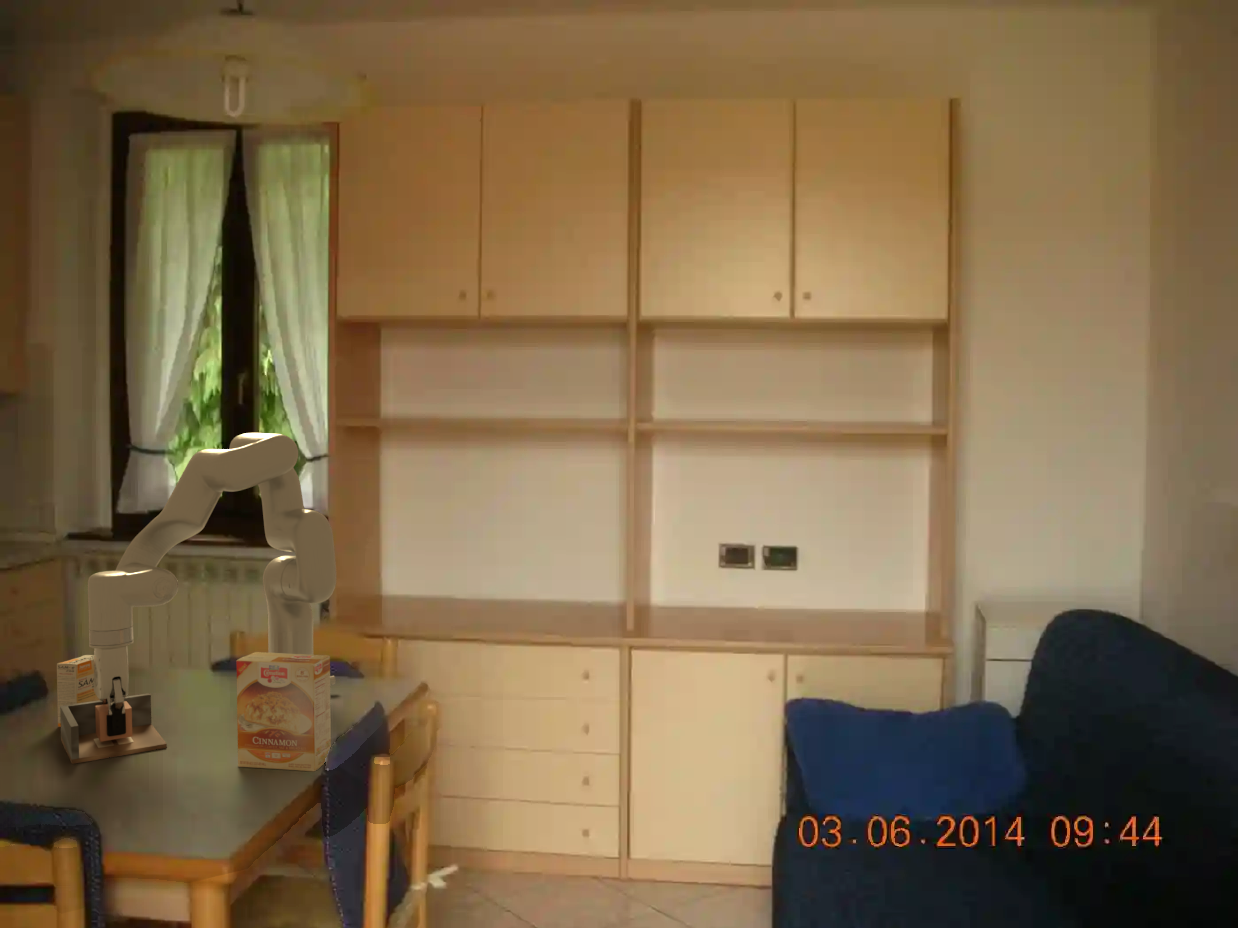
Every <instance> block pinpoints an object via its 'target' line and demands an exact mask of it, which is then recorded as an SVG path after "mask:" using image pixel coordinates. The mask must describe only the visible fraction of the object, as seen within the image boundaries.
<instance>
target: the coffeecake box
mask: <svg viewBox="0 0 1238 928" xmlns="http://www.w3.org/2000/svg"><path fill="white" fill-rule="evenodd" d="M235 662H236V708H237V709H236V717H237V718H236V719H237V724H236V725H237V730H236V731H237V767H239V768H253V769H254V768H255V769H256V768H257V769H270V770H271V769H272V770H286V771H301V772H305V771H306V772H316V771H317V770H319V769H320V768H321V767H322V766H324V765H325V764H324V762H325V758H326V757H327V754H328V751H329V749H330V747H331V748H332V735H331V734H332V729H331V728H332V726H331V725H332V723H331V721H332V720H331V716H332V715H331V685H330V676H331V656H330V655H329V654H328V655H325V654H324V655H323V654H321V655H320V654H313V655H307V654H287V653H269V652H268V651H267V652H265V651H264V652H263V651H262V652H261V651H254V652H252V653H250V654H247V655H244V656H241V657H240V658H237V660H236V661H235Z"/></svg>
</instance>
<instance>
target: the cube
mask: <svg viewBox="0 0 1238 928" xmlns="http://www.w3.org/2000/svg"><path fill="white" fill-rule="evenodd" d="M113 703H114V702H113ZM113 703H111V705H112V704H113ZM124 705H125V713H126V733H125V734H122V735H116V736H110V737H109V736H108V735H107V716H106V715H108V704H104V705H97V706H95V716H96V735H97V737H98V738H99V740H100V742H102V741H108V740H114V739H120V738H126V737H132V708H131V706H130V705H129V704H128V702H127V701H125V702H124Z"/></svg>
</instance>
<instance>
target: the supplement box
mask: <svg viewBox="0 0 1238 928" xmlns="http://www.w3.org/2000/svg"><path fill="white" fill-rule="evenodd" d="M56 683H57V684H56V688H57V689H56V691H57V727H59V728H61V720H60V706H63V705H70V704H77V703H84V702H91V701H98V700H100V699H99V698H98V697H97V696H96V694H95V692H94V654H84V655H81V656H78V657H74V658H71V659H68V660H65V661H61V662H58V663H56Z"/></svg>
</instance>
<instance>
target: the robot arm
mask: <svg viewBox="0 0 1238 928" xmlns="http://www.w3.org/2000/svg"><path fill="white" fill-rule="evenodd" d="M298 458H299V448H298V446H297V444H296V442H295V441H294V440H293V439H292V438H291V437H289V436H287V435H285V434H281V433H268V432H266V433H264V432H246V433H242V434H239V435H236V436H235V437H233V439H232V440H231V441H230V444H229V449H228V448H227V449H224V448H223V449H222V448H218V449H217V448H205V449H201V450H198V451H197V452H195V453H194V454H193V455H192V456H191V457H190V460H189V461H188V462H187V464H186V466H185V469H184V470H183V472H182V474H181V476H180V477H179V479H178V482H177V483H176V485H175V487H174V489H173V491H172V492H171V494H170V496H169V498H168V499H167V502H166V503H165V505H164V506H163V509H162V510H161V512H160V513H159V514H158V515H157V516H156V517H154V518H153V519H152V520H150V522H149V523H148V524H147V525H146V526H145V527H143V529H142V530H141V531H139V532H138V534H136V536H135V537H134V538H133V539H132V540H131V541H130V543H129V545H127V548H126V549H125V551H124V553H123V554H122V556H121V558H120V560H119V561H118V564H117V566H116V568H115V570H106V571H99V572H96V573H93V574H92V575H89V577H88V580H87V600H88V601H87V602H88V603H87V604H88V608H87V609H88V632H89V633H88V638H89V639H88V640H89V644H88V645H89V646H88V647H89V648H91V649H93V650H94V651H93V655H94V692H95V694H96V696H97V697H98V698H99V699H100V700H101V701H102V705H104V704H108V715H106V716H107V735H108V736H109V737H110V736H116V735H122V734H125V733H126V713H125V705H124V698H126V697H127V696H129V691H130V690H129V687H130V686H129V685H130V684H129V679H130V678H129V655H128V646H129V645H132V644H134V618H133V617H134V616H133V614H134V613H133V612H134V611H133V610H134V609H133V608H135V607H158V606H163V605H166V604H168V603H169V602H171V601H172V600H173V599H174V597H176V595H177V593H178V591H179V582H178V579H177V577H176V576H175V574H174V573H173V572H171V570H168V569H167V568H163V567H159V566H158V565H159V563H160V561H162V559H163V557H164V556H165V555H166V554H167V553H168V552H169V551H170V550H171V549H172V548H173V547H175V546H176V545H177V544H180V543H181V542H184V541H186V540H187V539H190V538H192V537H193V536H196V535H197V534H199V533H200V532H201V531H202V530H204V528H205V526H206V525H207V523H208V521H209V518H210V517H211V515H212V513H213V511H214V509H215V507H216V505H217V503H218V501H219V500H220V497H221V496H222V494H223V492H231V493H232V492H239V491H244V490H246V489H249V488H252V487H256V486H258V489H259V492H260V498H261V505H262V507H261V508H262V515H263V516H262V517H263V526H264V527H263V529H264V534H265V539H266V541H267V542H266V543H267V545H269V546H270V547H271V548H273V549H275V550H278V551H282V552H283V551H284V552H290V553H295V554H294V555H281V556H279V557H275V558H273V559H272V560H271V561H269V563H268V564H267V565H266V567H264V568H265V569H264V570H263V574H262V586H263V591H264V596H265V601H266V607H267V609H266V610H267V627H268V630H267V640H268V643H267V647H268V651H267V653H287V654H307V655H314V617H313V615H314V614H313V610H312V607H311V604H321V603H323V602H326V601H327V600H329V598H331V596H332V595H333V593H334V591H335V589H336V584H337V565H336V564H337V563H336V553H335V542H334V541H335V540H334V533H333V529H332V526H331V523H330V522H329V520H328V519H327V517H326V516H325V515H324V514H323V513H321V512H319V511H317V510H313V509H306V508H305V505H304V501H303V493H302V485H301V481H300V478H299V475H298V473H297V471H296V469H295V468H294V467H295V466H296V464H297V462H298V460H299V459H298ZM336 682H337V680H336V676H335V675H330V686H332V685H336ZM113 702H114V703H113ZM111 703H113V704H112V705H111Z"/></svg>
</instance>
